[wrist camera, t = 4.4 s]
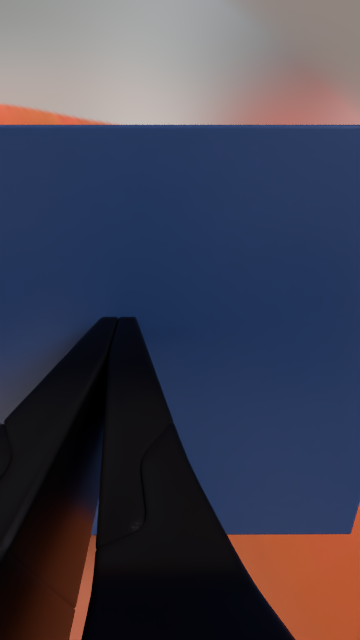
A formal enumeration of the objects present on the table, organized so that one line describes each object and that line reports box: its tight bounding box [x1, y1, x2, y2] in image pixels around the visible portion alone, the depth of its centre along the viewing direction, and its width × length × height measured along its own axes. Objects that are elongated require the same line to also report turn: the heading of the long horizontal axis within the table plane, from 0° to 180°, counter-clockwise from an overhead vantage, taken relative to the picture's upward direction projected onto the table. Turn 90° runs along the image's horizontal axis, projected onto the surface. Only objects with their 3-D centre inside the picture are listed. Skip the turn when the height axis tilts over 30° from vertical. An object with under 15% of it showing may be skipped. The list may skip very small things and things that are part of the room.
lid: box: [0, 125, 360, 535], centre depth 10 cm, size 12×15×1 cm
